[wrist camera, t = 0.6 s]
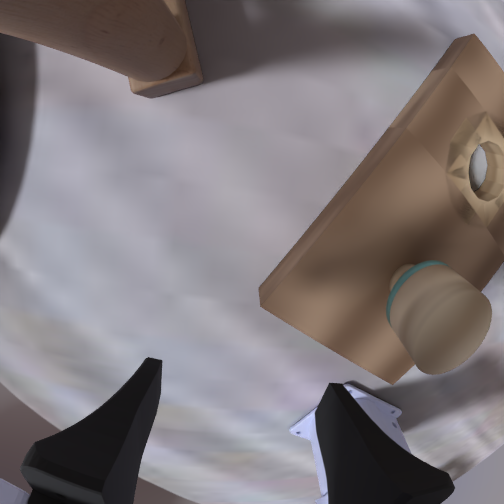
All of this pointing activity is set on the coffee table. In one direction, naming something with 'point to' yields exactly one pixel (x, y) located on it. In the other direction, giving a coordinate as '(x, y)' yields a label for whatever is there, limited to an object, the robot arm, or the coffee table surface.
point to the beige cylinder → (437, 315)
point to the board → (403, 215)
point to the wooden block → (114, 37)
